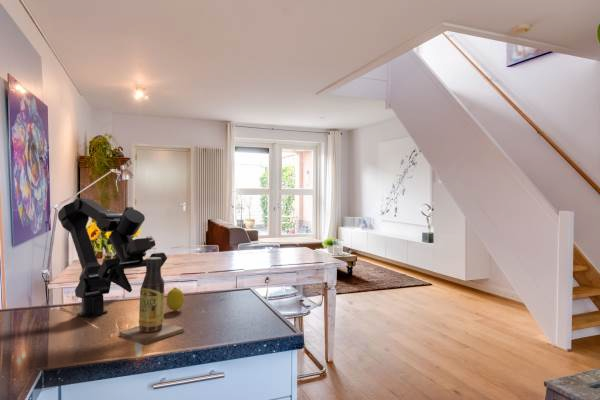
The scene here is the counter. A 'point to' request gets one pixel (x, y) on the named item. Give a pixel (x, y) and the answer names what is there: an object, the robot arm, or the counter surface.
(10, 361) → the counter surface
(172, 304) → the lemon
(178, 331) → the walnut board
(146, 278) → the sauce bottle
